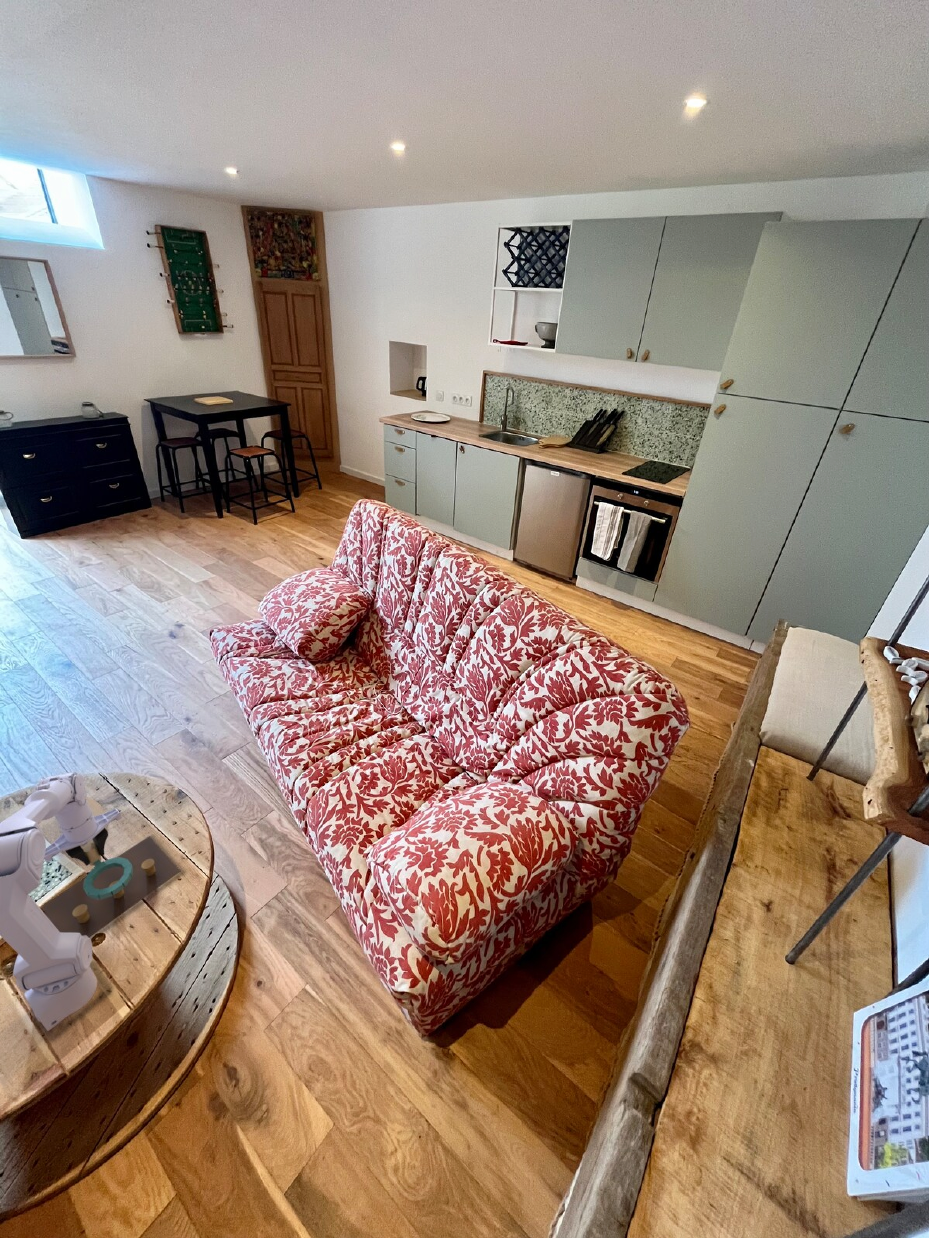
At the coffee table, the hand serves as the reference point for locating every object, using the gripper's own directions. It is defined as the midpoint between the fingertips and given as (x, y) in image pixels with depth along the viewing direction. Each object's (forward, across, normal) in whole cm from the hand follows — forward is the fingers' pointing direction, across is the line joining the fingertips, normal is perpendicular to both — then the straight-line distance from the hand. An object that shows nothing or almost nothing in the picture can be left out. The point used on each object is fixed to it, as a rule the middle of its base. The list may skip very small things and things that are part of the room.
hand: (93, 857), depth 114 cm
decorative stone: (+8, -4, -19) cm, 21 cm away
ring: (+1, 0, +5) cm, 5 cm away
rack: (+8, 0, +5) cm, 9 cm away
